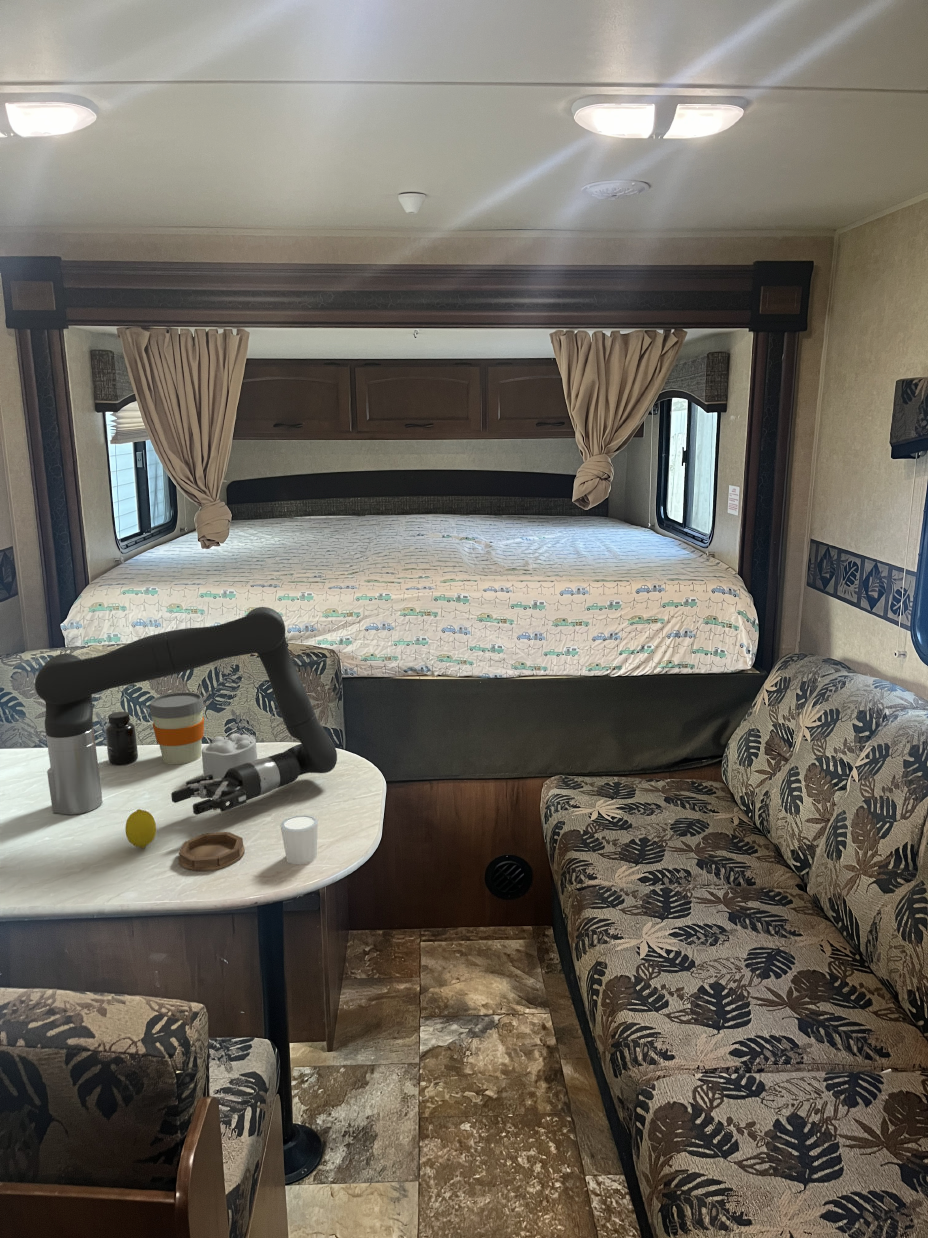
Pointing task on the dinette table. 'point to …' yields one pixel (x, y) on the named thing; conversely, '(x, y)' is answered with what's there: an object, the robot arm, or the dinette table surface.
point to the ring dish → (211, 851)
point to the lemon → (140, 828)
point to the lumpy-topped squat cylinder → (228, 754)
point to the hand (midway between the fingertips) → (183, 804)
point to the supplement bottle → (121, 739)
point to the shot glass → (300, 838)
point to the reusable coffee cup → (178, 726)
